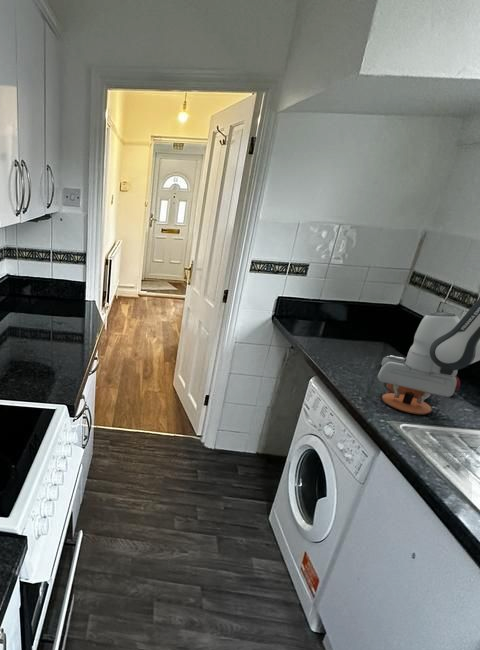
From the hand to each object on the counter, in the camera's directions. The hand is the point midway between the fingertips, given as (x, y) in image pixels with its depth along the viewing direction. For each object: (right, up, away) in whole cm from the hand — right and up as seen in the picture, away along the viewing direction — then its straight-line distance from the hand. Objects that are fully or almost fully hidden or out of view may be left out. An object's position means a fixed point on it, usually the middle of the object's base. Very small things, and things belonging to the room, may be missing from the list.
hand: (407, 400), depth 137 cm
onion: (+23, +2, +12) cm, 26 cm away
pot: (+8, +2, +11) cm, 14 cm away
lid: (0, -1, +1) cm, 2 cm away
